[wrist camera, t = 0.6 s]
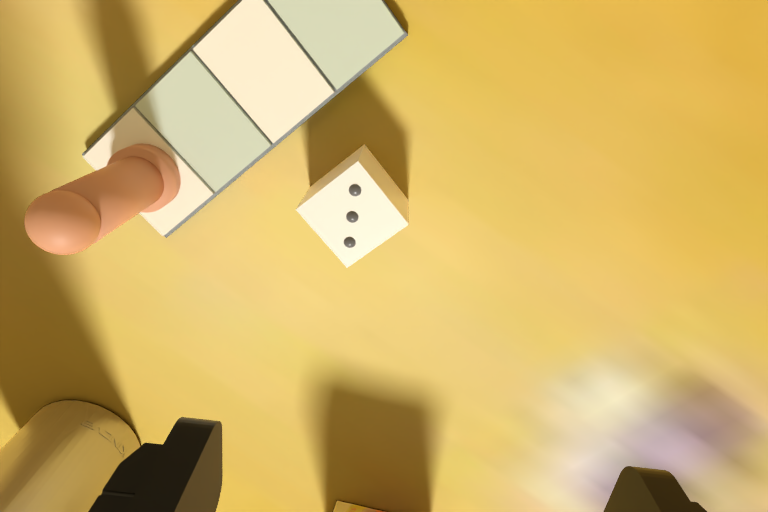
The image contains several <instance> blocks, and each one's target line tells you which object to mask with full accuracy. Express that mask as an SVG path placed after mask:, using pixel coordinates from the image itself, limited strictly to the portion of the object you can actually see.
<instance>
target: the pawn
mask: <svg viewBox="0 0 768 512" xmlns="http://www.w3.org/2000/svg"><path fill="white" fill-rule="evenodd" d="M180 185H181V178H180V173H179V170H178V167H177V166H176V164H175V162H174V161H173V159H172V158H171V157H170V156H169V155H168V154H167V153H166V152H164V151H163V150H162V149H160V148H158V147H156V146H153V145H150V144H143V143H141V144H134V145H131V146H129V147H126V148H124V149H121V150H119V151H117V152H116V153H115V154H113V155H112V156H111V158H110V159H109V161H108V163H107V166H106V167H103V168H101V169H99V170H97V171H94V172H92V173H90V174H88V175H86V176H83V177H81V178H79V179H77V180H74V181H72V182H70V183H68V184H65V185H63V186H61V187H59V188H56V189H54V190H52V191H50V192H48V193H46V194H43V195H41V196H40V197H38V198H36V199H35V200H34V201H33V202H32V203H31V204H30V206H29V207H28V209H27V211H26V214H25V220H24V224H25V229H26V232H27V234H28V236H29V238H30V239H31V240H32V242H33V243H34V244H36V245H37V246H38V247H40V248H41V249H43V250H45V251H47V252H50V253H53V254H59V255H69V254H75V253H78V252H81V251H83V250H85V249H87V248H88V247H89V246H91V245H92V244H94V243H96V242H97V241H98V240H100V239H101V238H103V237H104V236H106V235H107V234H109V233H110V232H112V231H113V230H115V229H116V228H118V227H119V226H121V225H122V224H124V223H125V222H127V221H128V220H130V219H131V218H132V217H134V216H135V215H137V214H138V213H140V212H144V213H148V212H154V211H157V210H159V209H161V208H163V207H164V206H165V205H167V204H168V203H170V202H171V201H172V200H173V199H174V198H175V197H176V196H177V194H178V192H179V189H180Z"/></svg>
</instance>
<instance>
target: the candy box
mask: <svg viewBox="0 0 768 512" xmlns="http://www.w3.org/2000/svg"><path fill="white" fill-rule="evenodd" d="M333 512H385V511H380V510H375V509H371V508H367V507H363V506H359V505H355V504H350V503H345V502H341V501H337V502H336V505H335V508H334V511H333Z"/></svg>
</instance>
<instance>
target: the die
mask: <svg viewBox="0 0 768 512" xmlns="http://www.w3.org/2000/svg"><path fill="white" fill-rule="evenodd" d="M296 210H297V212H298V213H299V214H300V215H301V216H302V217H303V218H304V220H305V221H306V222H307V223H308V224H309V225H310V226H311V227H312V229H313V230H314V231H315V232H316V233H317V234H318V235H319V237H320V238H321V239H322V240H323V241H324V242H325V243H326V244H327V246H328V247H329V248H330V249H331V250H332V251H333V252H334V254H335V255H336V256H337V257H338V258H339V259H340V260H341V261H342V263H343V264H344V265H345V266H346V267H349V266H350V265H352V264H353V263H355V262H356V261H357V260H359V259H360V258H362V257H363V256H364V255H366V254H367V253H369V252H370V251H372V250H373V249H374V248H376V247H377V246H379V245H380V244H382V243H383V242H384V241H386V240H387V239H389V238H390V237H392V236H393V235H394V234H396V233H397V232H399V231H400V230H401V229H403V228H404V227H406V226H407V225H409V207H408V199H407V198H406V196H405V195H404V194H403V192H402V191H401V190H400V189H399V187H398V186H397V185H396V184H395V182H394V181H393V180H392V178H391V177H390V176H389V175H388V173H387V172H386V171H385V170H384V168H383V167H382V166H381V164H380V163H379V162H378V161H377V159H376V158H375V157H374V156H373V154H372V153H371V152H370V150H369V149H368V148H367V147H366V145H365V144H364V145H363V146H361V147H360V148H359V149H357V150H356V151H355V152H354V153H352V154H351V155H350V156H349V157H347V158H346V159H345V160H343V161H342V162H341V163H340V164H338V165H337V166H336V167H335V168H333V169H332V170H331V171H329V172H328V173H327V174H326V175H324V176H323V177H322V178H321V179H319V180H318V181H317V182H315V183H314V184H313V185H312V186H310V187H309V189H308V191H307V192H306V194H305V195H304V197H303V199H302V200H301V202H300V203H299V205H298V207H297V208H296Z"/></svg>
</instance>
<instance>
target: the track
mask: <svg viewBox="0 0 768 512" xmlns="http://www.w3.org/2000/svg"><path fill="white" fill-rule="evenodd" d="M406 36H408V34H407V33H406V31H405V30H404V29H403V27H402V26H401V24H400V23H399V21H398V20H397V18H396V17H395V16H394V14H393V13H392V11H391V10H390V8H389V7H388V5H387V4H386V3H385V1H384V0H238V1H237V2H236V3H235V4H234V5H233V6H232V7H231V8H230V9H229V10H228V11H227V12H226V13H225V14H224V15H223V16H222V17H221V18H220V19H219V20H218V21H217V22H216V23H215V24H214V25H213V26H212V27H211V28H210V29H209V30H208V31H207V32H206V33H205V34H204V35H203V36H202V37H201V38H200V39H199V40H198V41H197V42H196V43H195V44H193V45H192V46H191V47H190V48H189V49H188V50H187V51H186V52H185V53H184V54H183V55H182V56H181V57H180V58H179V59H178V60H177V61H176V62H175V63H174V64H173V65H172V66H171V67H170V68H169V69H168V70H167V71H166V72H165V73H164V74H163V75H162V76H161V77H160V78H159V79H158V80H157V81H156V82H155V83H154V84H153V85H152V86H151V87H150V88H149V89H148V90H147V91H146V92H145V93H144V94H143V95H142V96H141V97H140V98H139V99H138V100H137V101H136V102H135V103H134V104H133V105H132V106H130V107H129V108H128V109H127V110H126V111H125V112H124V113H123V114H122V115H121V116H120V117H119V118H118V119H117V120H116V121H115V122H114V123H113V124H112V125H111V126H110V127H109V128H108V129H107V130H106V131H105V132H104V133H103V134H102V135H101V136H100V137H99V138H98V139H97V140H96V141H95V142H94V143H93V144H92V145H91V146H90V147H89V148H88V149H87V150H86V151H85V152H84V153H83V154H82V155H83V158H84V159H85V160H86V161H87V162H88V163H89V164H90V165H91V166H92V167H93V168H94V169H95V170H96V171H97V170H99V169H101V168H103V167H106V166H107V163H108V161H109V159H110V158H111V156H112V155H113V154H115V153H116V152H117V151H119V150H121V149H124V148H126V147H129V146H131V145H134V144H141V143H143V144H150V145H153V146H156V147H158V148H160V149H162V150H163V151H164V152H166V153H167V154H168V155H169V156H170V157H171V158H172V159H173V161H174V162H175V164H176V166H177V167H178V170H179V173H180V178H181V185H180V189H179V192H178V194H177V196H176V197H175V198H174V199H173V200H172V201H171V202H170V203H168V204H167V205H165V206H164V207H163V208H161V209H159V210H157V211H154V212H148V213H144V212H140V214H141V215H142V216H143V217H144V218H145V219H146V220H147V221H148V222H149V223H150V224H151V225H152V226H153V227H154V228H155V229H156V230H157V231H158V232H159V233H160V234H161V235H162V236H165V237H166V238H167V237H168V236H169V235H170V234H171V233H173V232H174V231H175V230H176V229H177V228H179V227H180V226H181V225H182V224H183V223H185V222H186V221H187V220H188V219H189V218H191V217H192V216H193V215H194V214H195V213H197V212H198V211H199V210H200V209H201V208H202V207H204V206H205V205H206V204H207V203H208V202H210V201H211V200H212V199H213V198H214V197H216V196H217V195H218V194H219V193H220V192H222V191H223V190H224V189H225V188H226V187H228V186H229V185H230V184H231V183H232V182H233V181H235V180H236V179H237V178H238V177H239V176H241V175H242V174H243V173H244V172H245V171H247V170H248V169H249V168H250V167H251V166H253V165H254V164H255V163H256V162H257V161H259V160H260V159H261V158H262V157H263V156H264V155H266V154H267V153H268V152H269V151H270V150H272V149H273V148H274V147H275V146H276V145H278V144H279V143H280V142H281V141H282V140H284V139H285V138H286V137H287V136H288V135H290V134H291V133H292V132H293V131H294V130H295V129H297V128H298V127H299V126H300V125H301V124H303V123H304V122H305V121H306V120H307V119H309V118H310V117H311V116H312V115H313V114H315V113H316V112H317V111H318V110H319V109H321V108H322V107H323V106H324V105H325V104H326V103H328V102H329V101H330V100H331V99H332V98H334V97H335V96H336V95H337V94H338V93H340V92H341V91H342V90H343V89H344V88H346V87H347V86H348V85H349V84H350V83H352V82H353V81H354V80H355V79H356V78H358V77H359V76H360V75H361V74H362V73H363V72H365V71H366V70H367V69H368V68H369V67H371V66H372V65H373V64H374V63H375V62H377V61H378V60H379V59H380V58H381V57H383V56H384V55H385V54H386V53H387V52H389V51H390V50H391V49H392V48H393V47H394V46H396V45H397V44H398V43H399V42H400V41H402V40H403V39H404V38H405V37H406Z"/></svg>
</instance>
